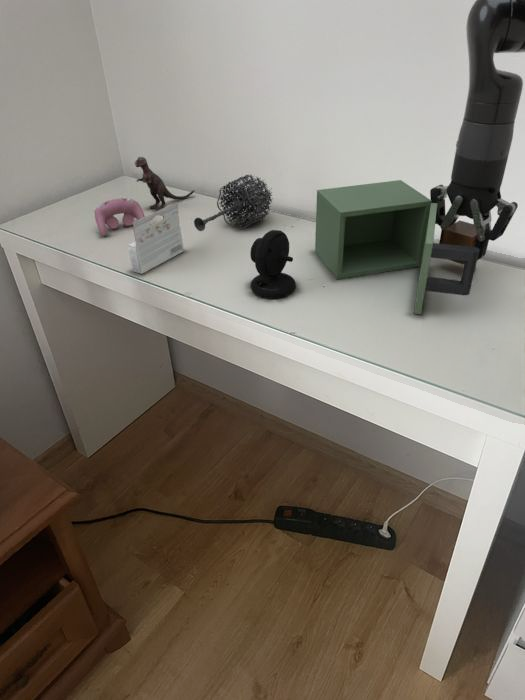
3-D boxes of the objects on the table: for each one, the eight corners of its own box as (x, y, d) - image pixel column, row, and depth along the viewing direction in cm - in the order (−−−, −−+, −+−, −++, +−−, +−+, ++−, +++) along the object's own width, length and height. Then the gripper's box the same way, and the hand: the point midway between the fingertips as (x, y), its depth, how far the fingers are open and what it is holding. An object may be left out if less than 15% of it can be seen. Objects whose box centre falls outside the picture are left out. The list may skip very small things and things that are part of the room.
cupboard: (421, 266, 92) (432, 200, 85) (336, 279, 89) (340, 212, 82) (393, 241, 101) (400, 179, 94) (314, 252, 98) (316, 189, 91)
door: (464, 271, 90) (478, 206, 83) (464, 320, 78) (481, 248, 71) (420, 267, 92) (431, 202, 85) (414, 313, 80) (425, 243, 73)
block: (481, 255, 89) (487, 227, 86) (466, 265, 87) (472, 237, 84) (454, 247, 92) (459, 220, 89) (439, 256, 90) (444, 229, 87)
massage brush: (183, 242, 104) (177, 195, 98) (251, 207, 118) (249, 164, 112) (220, 253, 99) (216, 205, 93) (286, 215, 113) (286, 171, 108)
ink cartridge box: (132, 271, 94) (122, 219, 88) (175, 248, 101) (168, 199, 95) (142, 275, 93) (132, 222, 87) (184, 252, 100) (178, 201, 94)
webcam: (268, 273, 92) (266, 218, 86) (304, 284, 88) (305, 228, 82) (241, 292, 87) (237, 235, 81) (278, 304, 83) (278, 246, 77)
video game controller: (145, 229, 113) (136, 196, 112) (149, 226, 109) (140, 192, 108) (99, 238, 110) (89, 204, 108) (101, 236, 106) (91, 201, 104)
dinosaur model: (130, 156, 110) (184, 145, 120) (135, 211, 117) (186, 196, 126) (142, 161, 108) (196, 149, 118) (147, 216, 115) (197, 200, 124)
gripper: (540, 154, 77) (511, 259, 87) (451, 137, 86) (434, 236, 96) (518, 166, 73) (490, 275, 83) (426, 147, 81) (411, 249, 91)
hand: (460, 254), depth 89 cm, fingers closed on block, 5 cm apart
